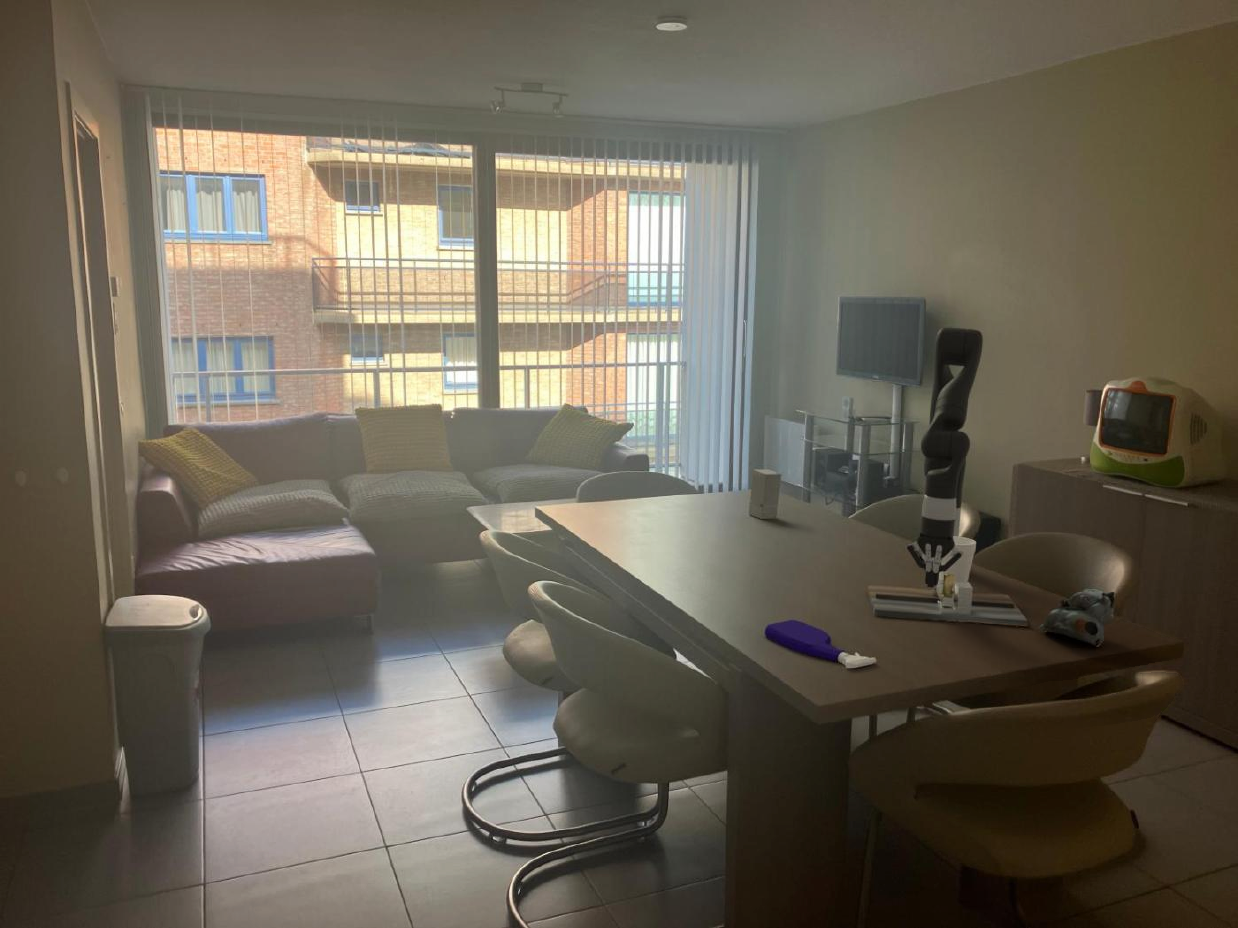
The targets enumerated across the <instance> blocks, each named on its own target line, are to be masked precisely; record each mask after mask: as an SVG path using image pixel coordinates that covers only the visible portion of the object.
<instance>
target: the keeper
mask: <svg viewBox="0 0 1238 928" xmlns="http://www.w3.org/2000/svg"><path fill="white" fill-rule="evenodd" d="M973 589H974V588H973V585H971V583H970V582H969V581H968V582H956V583H955V595H954V602H953V607H951V606H942V604H941V601H937V607H938V609H939V611H940V613H945V614H958V615H971V603H972V592H973Z"/></svg>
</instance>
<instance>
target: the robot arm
mask: <svg viewBox="0 0 1238 928" xmlns="http://www.w3.org/2000/svg"><path fill="white" fill-rule="evenodd" d="M983 342H984V338H983V334H982V332H981V331H980V330H978V329H973V328H961V327H947V326H946V327H942V328H940V329H939V330H938V332H937V333H936V337H935V342H934V356H933V357H934V359H933V360H934V363H933V371H934V372H933V385H932V391H931V392H932V393H931V400H930V409H929V424H928V425H929V426H928V427H927V429H926V431H925V432H924V434H923V436H922V438H921V441H920V442H921V443H920V450H921V453H922V455H923V456H924V463H923V473H924V474H923V475H924V476H925V478H926V479H925V489H924V498H923V501H922V506H921V507H922V508H921V517H920V527H919V535H918V537H917V538H916V541H915V542H911V543H909V544H908V545H907V547H906V549H907V550H908V552H909V553H910V556H911V557H912V558H913V560H914V561H915V563H916V564H917V566H918V567H919V568H922V569H923V570H925V576H924V577H925V579H924V583H925V585H926V586H927V588H930V589H931V588H932V589H933V588H934V587H935V586H936V585H937V584H938V582H939V572H942V571H943V572H945V571H946V570H947V569H949V568H950V567H951V566H952V565H953V564H954V563H955V562H956V561H957V560H958V559H959V558H961V556H962V555H963V552H962V551H959V550H958V549H957V548H956V547H955V542H954V540H953V536H957V537H960V536H959V535H960V526H961V525H960V524H961V515H962V513H961V511H962V499H963V498H962V497H963V487H964V479H965V473H966V466H967V465H966V464H967V456H968V454H969V451H970V447H971V440H970V438H969V435H968V434H967V433H966V432H964V431H961V429H962V428H963V427H964V426H965V423H966V420H967V415H968V407H969V399H970V395H971V392H972V388H973V385H974V382H975V379H976V376H977V371H978V369H979V365H980V361H981V358H982V353H983V345H984V344H983ZM950 366H955V367H963V368H962V370H960V372H959V373H958V374H957V375H956V376H955V375H954V374H953V372H952V371H951V368H950ZM919 550H921V551H922V555H921V553H920V551H919ZM951 550H952V553H951V557H952V558H951V559H950V560H949V561H948V562H947V563H946V564H944V565H941V563H942V559H943V558H944V557H945V556H946V555H947V554H948V553H949V552H950V551H951Z"/></svg>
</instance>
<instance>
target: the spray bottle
mask: <svg viewBox="0 0 1238 928" xmlns="http://www.w3.org/2000/svg"><path fill="white" fill-rule="evenodd" d="M764 635H765V637H766V638H767V639H768V640H771V641H773V642H775V643H776V644H777V645H780V646H782V647H785V648H787V649H789V650H792V651H793V652H794V651H795V652H797V653H800V654H803V655H808V656H813V657H816V658H821V659H824V660H828V661H831V662H832V661H833V662H839V663H842V665H844V666H845V669H855V668H861V667H865V666H869V665H873V664H875V663H876V662H877V659H876V657H868V656H862V655H860V654H859V653H858V652H854V655H852V654H849V653H847V651H846V650H845V649H844V650H843V649H839V648H837V647H835V646H832V645H831V644H832V638H831V636H830V635H829V633H827V632H826V631H825V630H823V629H820V628H818V627H815V626H813V625H811V624H808V623H805V622H803V621H800V620H796V619H789V620H784V621H779V622H775V623H774V622H773V623H769V624H767V625H766V627H765V628H764Z"/></svg>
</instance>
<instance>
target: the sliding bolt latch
mask: <svg viewBox="0 0 1238 928" xmlns="http://www.w3.org/2000/svg"><path fill="white" fill-rule="evenodd" d="M867 590H868V591H867V593H868V597H870V598H869V602H870V601H871V602H870V605H871V604H872V605H871V608H873V609H872V612H873V615H875V616H874V617H884V616H887V617H888V618H900V619H911V618H918V619H917V620H924V619H940V620H956V621H958V620H962V621H979V622H995V623H1006V624H1007V623H1008V624H1018V625H1027V626H1028V619H1027V618H1026V617H1025V615H1024V613H1023V612H1022V611H1021V610H1020V609H1019V608H1018V606H1017V605H1016V604H1015V603H1014V601H1013V600H1012V598H1011V597H1010V596H1009V594H1001V593H985V592H972V603H971V615H958V614H945V613H940V611H939V609H938V607H937V601H940V599H939V596H938V594H937V592H936V591H935V590H933V589H931V588H914V587H900V586H889V585H888V586H885V585H873V584H872V585H871V584H867ZM954 595H955V591H953V598H954ZM887 617H886V618H887Z"/></svg>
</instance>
